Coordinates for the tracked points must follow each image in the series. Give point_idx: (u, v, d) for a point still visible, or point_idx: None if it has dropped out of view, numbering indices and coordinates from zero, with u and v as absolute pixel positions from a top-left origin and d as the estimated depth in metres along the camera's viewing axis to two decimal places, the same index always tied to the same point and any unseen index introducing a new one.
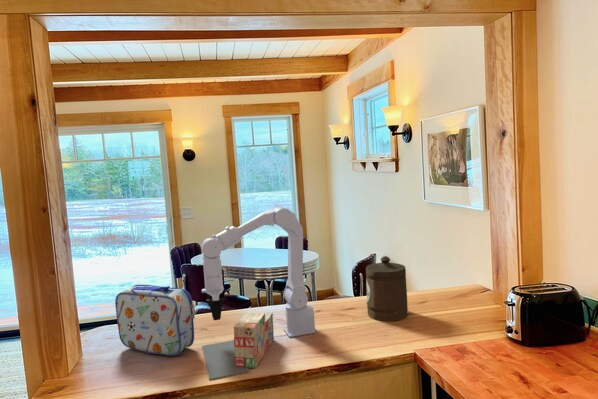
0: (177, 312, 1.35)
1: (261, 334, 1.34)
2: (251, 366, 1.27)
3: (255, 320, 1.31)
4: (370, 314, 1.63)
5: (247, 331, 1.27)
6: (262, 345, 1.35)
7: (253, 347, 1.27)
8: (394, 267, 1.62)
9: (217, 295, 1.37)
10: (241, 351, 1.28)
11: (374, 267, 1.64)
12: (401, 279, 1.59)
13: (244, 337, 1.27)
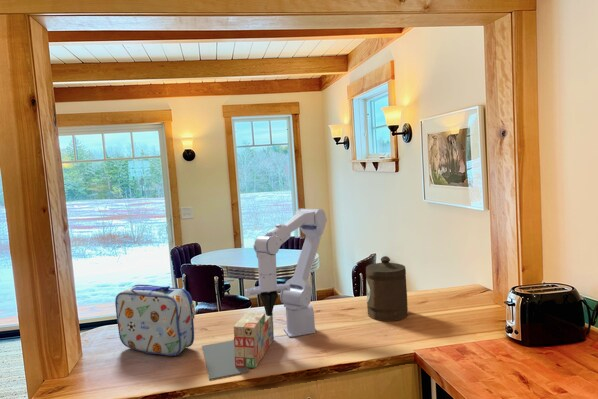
0: (177, 312, 1.35)
1: (261, 334, 1.34)
2: (251, 366, 1.27)
3: (255, 320, 1.31)
4: (370, 314, 1.63)
5: (247, 331, 1.27)
6: (262, 345, 1.35)
7: (253, 347, 1.27)
8: (394, 267, 1.62)
9: (246, 291, 1.38)
10: (241, 351, 1.28)
11: (374, 267, 1.64)
12: (401, 279, 1.59)
13: (244, 337, 1.27)
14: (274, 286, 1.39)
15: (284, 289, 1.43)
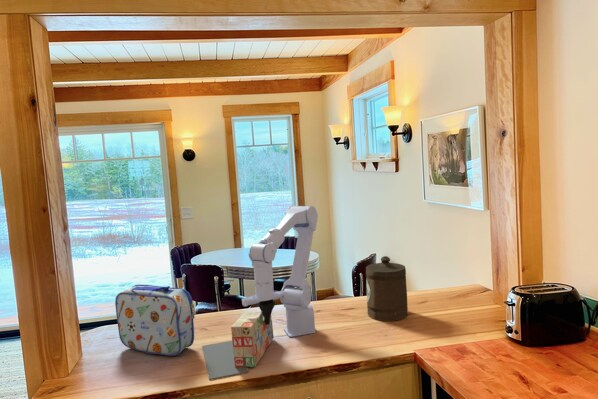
0: (177, 312, 1.35)
1: (260, 333, 1.34)
2: (250, 365, 1.27)
3: (252, 319, 1.31)
4: (370, 314, 1.63)
5: (245, 330, 1.27)
6: (261, 344, 1.35)
7: (252, 346, 1.27)
8: (394, 267, 1.62)
9: (243, 301, 1.34)
10: (240, 351, 1.28)
11: (374, 267, 1.64)
12: (401, 279, 1.59)
13: (242, 337, 1.27)
14: (271, 294, 1.36)
15: (281, 297, 1.40)
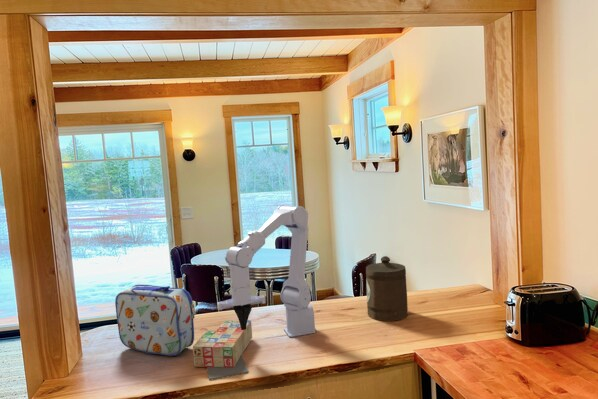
0: (177, 312, 1.35)
1: (217, 336, 1.36)
2: (231, 351, 1.28)
3: None
4: (370, 314, 1.63)
5: (197, 353, 1.30)
6: (229, 336, 1.36)
7: (212, 347, 1.29)
8: (394, 267, 1.62)
9: (218, 304, 1.33)
10: (217, 359, 1.29)
11: (374, 267, 1.64)
12: (401, 279, 1.59)
13: (203, 355, 1.29)
14: (247, 299, 1.34)
15: (259, 302, 1.37)
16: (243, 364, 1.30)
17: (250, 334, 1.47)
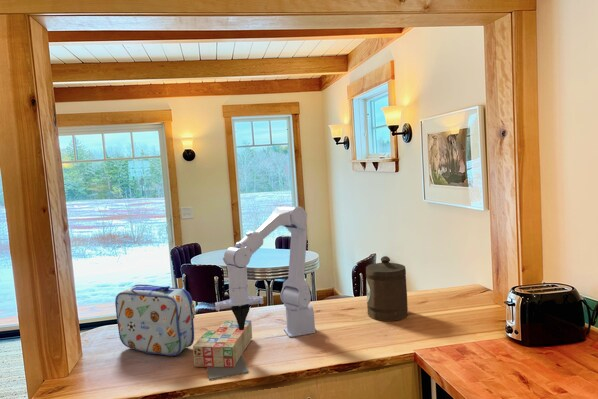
0: (177, 312, 1.35)
1: (217, 336, 1.36)
2: (231, 351, 1.28)
3: None
4: (370, 314, 1.63)
5: (197, 353, 1.30)
6: (229, 336, 1.36)
7: (212, 347, 1.29)
8: (394, 267, 1.62)
9: (215, 305, 1.33)
10: (217, 359, 1.29)
11: (374, 267, 1.64)
12: (401, 279, 1.59)
13: (203, 355, 1.29)
14: (245, 300, 1.33)
15: (257, 302, 1.37)
16: (243, 364, 1.30)
17: (250, 334, 1.47)
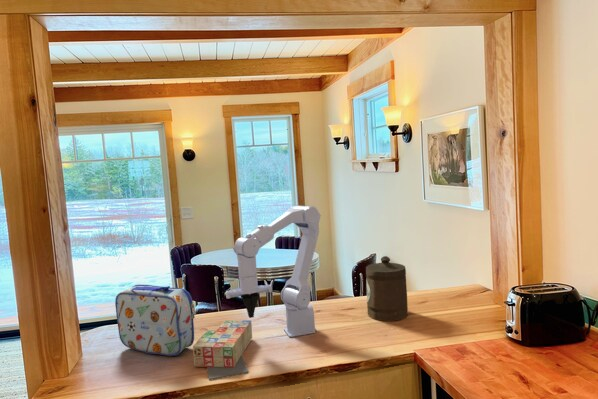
0: (177, 312, 1.35)
1: (217, 336, 1.36)
2: (231, 351, 1.28)
3: None
4: (370, 314, 1.63)
5: (197, 353, 1.30)
6: (229, 336, 1.36)
7: (212, 347, 1.29)
8: (394, 267, 1.62)
9: (226, 293, 1.38)
10: (217, 359, 1.29)
11: (374, 267, 1.64)
12: (401, 279, 1.59)
13: (203, 355, 1.29)
14: (254, 288, 1.39)
15: (266, 290, 1.42)
16: (243, 364, 1.30)
17: (250, 334, 1.47)
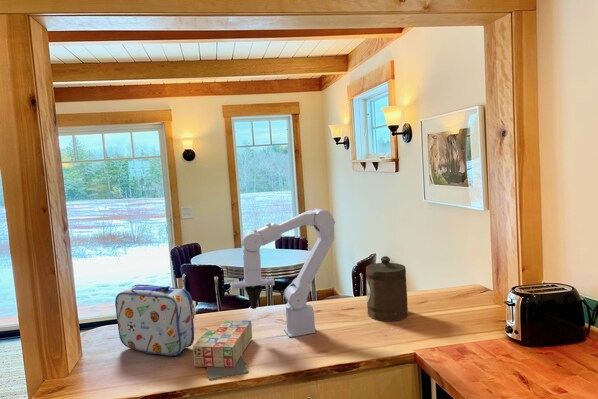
0: (177, 312, 1.35)
1: (217, 336, 1.36)
2: (231, 351, 1.28)
3: None
4: (370, 314, 1.63)
5: (197, 353, 1.30)
6: (229, 336, 1.36)
7: (212, 347, 1.29)
8: (394, 267, 1.62)
9: (231, 285, 1.46)
10: (217, 359, 1.29)
11: (374, 267, 1.64)
12: (401, 279, 1.59)
13: (203, 355, 1.29)
14: (258, 281, 1.47)
15: (269, 284, 1.50)
16: (243, 364, 1.30)
17: (250, 334, 1.47)
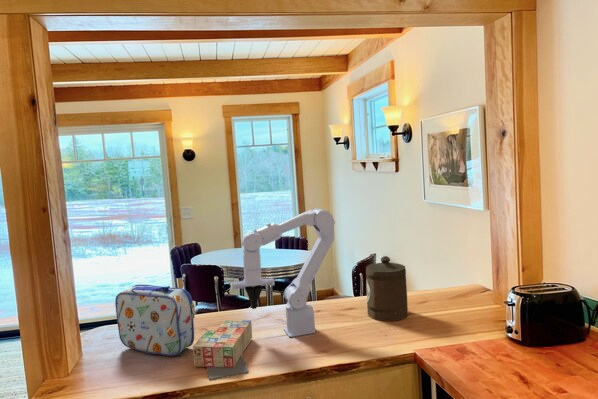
0: (177, 312, 1.35)
1: (217, 336, 1.36)
2: (231, 351, 1.28)
3: None
4: (370, 314, 1.63)
5: (197, 353, 1.30)
6: (229, 336, 1.36)
7: (212, 347, 1.29)
8: (394, 267, 1.62)
9: (231, 285, 1.46)
10: (217, 359, 1.29)
11: (374, 267, 1.64)
12: (401, 279, 1.59)
13: (203, 355, 1.29)
14: (258, 281, 1.47)
15: (269, 284, 1.50)
16: (243, 364, 1.30)
17: (250, 334, 1.47)
